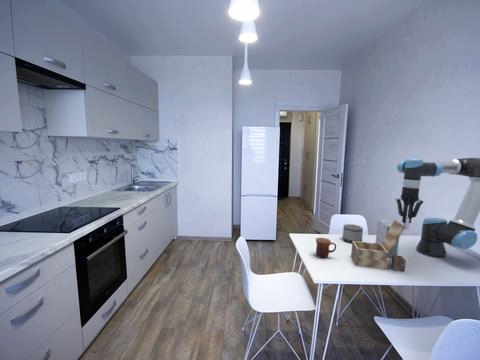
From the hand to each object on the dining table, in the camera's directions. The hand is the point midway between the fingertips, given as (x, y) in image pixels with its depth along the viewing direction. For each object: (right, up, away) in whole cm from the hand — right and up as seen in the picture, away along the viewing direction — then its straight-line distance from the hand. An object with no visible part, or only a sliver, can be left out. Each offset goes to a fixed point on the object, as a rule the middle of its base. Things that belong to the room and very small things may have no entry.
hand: (405, 228), depth 132 cm
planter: (-11, -17, +40) cm, 45 cm away
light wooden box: (-17, -21, +7) cm, 28 cm away
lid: (-6, -4, +2) cm, 8 cm away
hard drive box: (+2, -20, +21) cm, 29 cm away
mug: (-40, -20, +14) cm, 47 cm away
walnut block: (-4, -23, 0) cm, 23 cm away
